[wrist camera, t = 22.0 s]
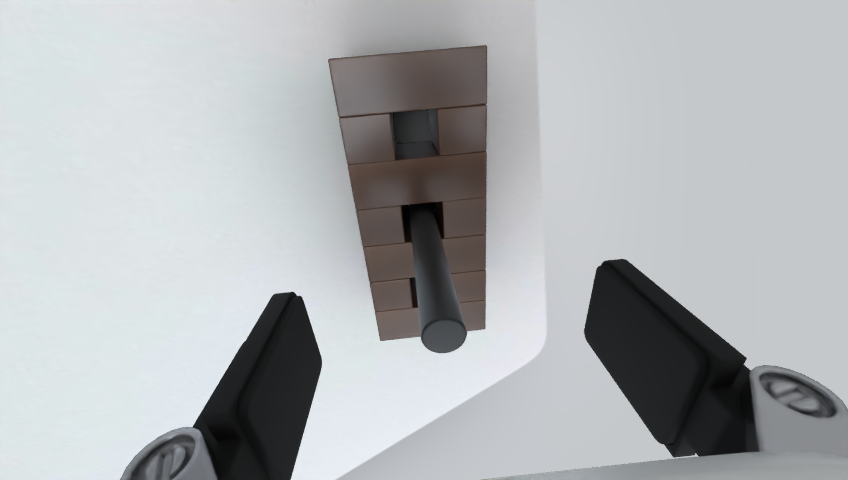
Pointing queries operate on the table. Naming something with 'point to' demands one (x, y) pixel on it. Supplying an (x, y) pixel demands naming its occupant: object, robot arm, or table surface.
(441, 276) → the stylus
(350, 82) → the pen stand
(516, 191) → the table surface
